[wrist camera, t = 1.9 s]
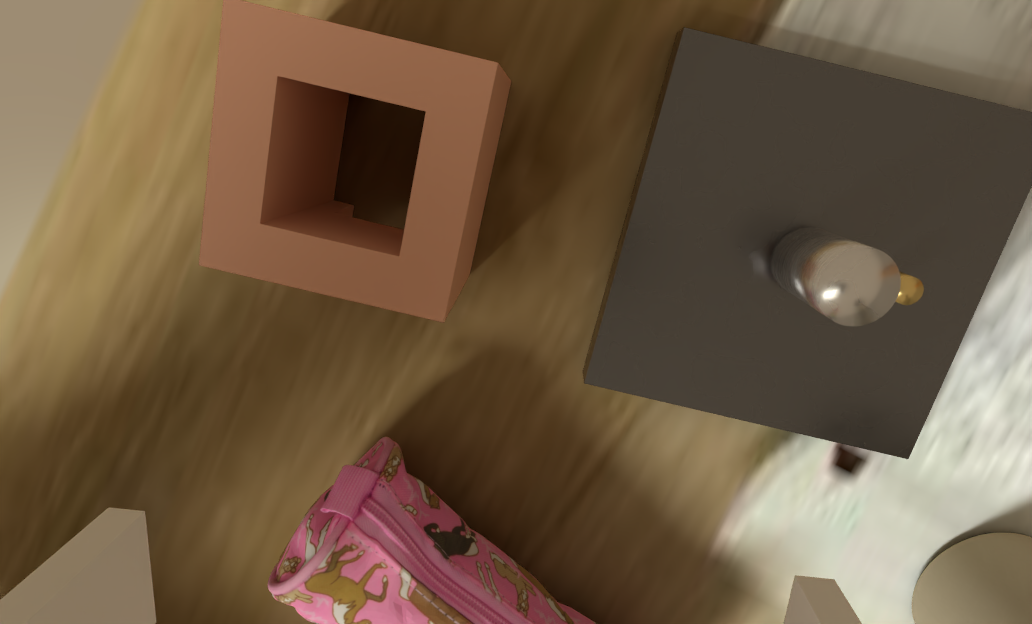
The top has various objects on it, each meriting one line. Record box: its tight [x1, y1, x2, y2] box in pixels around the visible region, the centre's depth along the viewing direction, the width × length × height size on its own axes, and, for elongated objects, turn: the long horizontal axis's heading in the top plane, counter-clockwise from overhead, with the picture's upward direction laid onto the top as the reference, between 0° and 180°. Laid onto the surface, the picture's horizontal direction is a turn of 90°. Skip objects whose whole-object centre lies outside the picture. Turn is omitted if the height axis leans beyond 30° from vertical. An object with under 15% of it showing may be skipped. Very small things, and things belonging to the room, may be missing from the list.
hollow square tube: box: [199, 0, 511, 323], centre depth 26 cm, size 9×9×8 cm
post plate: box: [583, 27, 1032, 459], centre depth 27 cm, size 16×16×6 cm
